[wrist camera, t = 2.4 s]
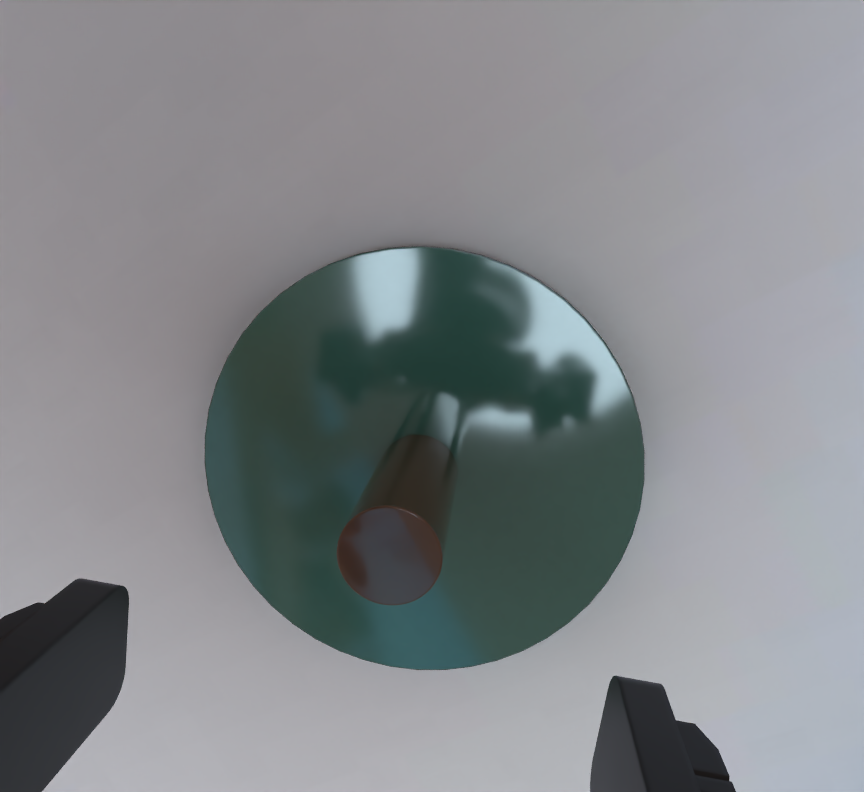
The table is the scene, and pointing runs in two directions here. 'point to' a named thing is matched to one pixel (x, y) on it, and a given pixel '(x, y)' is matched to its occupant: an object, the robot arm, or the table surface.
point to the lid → (424, 458)
